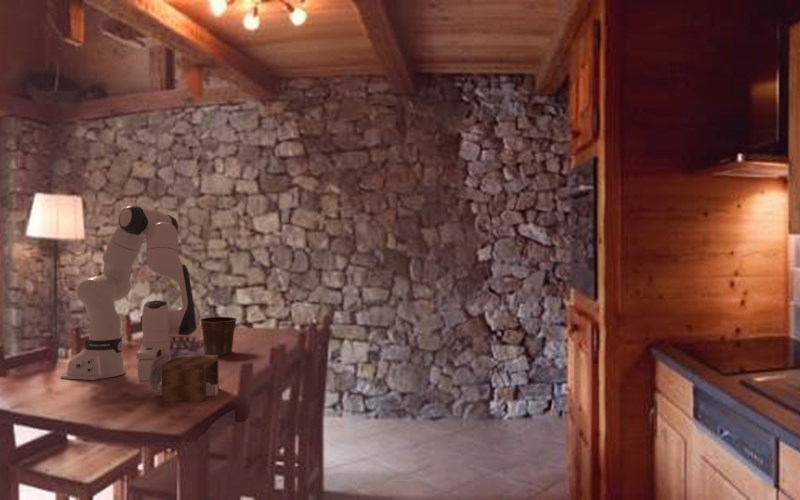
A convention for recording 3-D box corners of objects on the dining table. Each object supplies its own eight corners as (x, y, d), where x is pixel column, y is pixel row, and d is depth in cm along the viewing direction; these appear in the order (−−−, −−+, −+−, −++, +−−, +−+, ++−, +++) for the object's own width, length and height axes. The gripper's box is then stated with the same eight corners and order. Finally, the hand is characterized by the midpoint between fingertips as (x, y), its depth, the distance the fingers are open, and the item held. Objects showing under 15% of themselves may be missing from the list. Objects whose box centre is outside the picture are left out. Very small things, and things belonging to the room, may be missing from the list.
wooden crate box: (161, 401, 188) (161, 365, 187) (179, 388, 204) (178, 355, 203) (204, 401, 188) (204, 365, 188) (218, 388, 204) (218, 355, 204)
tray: (156, 397, 191) (156, 377, 191) (165, 391, 199) (165, 372, 199) (213, 397, 192) (213, 377, 192) (220, 391, 200) (220, 372, 200)
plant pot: (244, 352, 266) (244, 318, 266) (216, 359, 252) (216, 322, 252) (220, 349, 275) (220, 315, 274) (192, 354, 261) (192, 319, 261)
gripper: (158, 343, 205) (158, 381, 206) (134, 354, 185) (134, 397, 185) (175, 343, 206) (175, 381, 206) (153, 354, 185) (153, 397, 186)
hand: (155, 388), depth 196 cm, fingers closed
